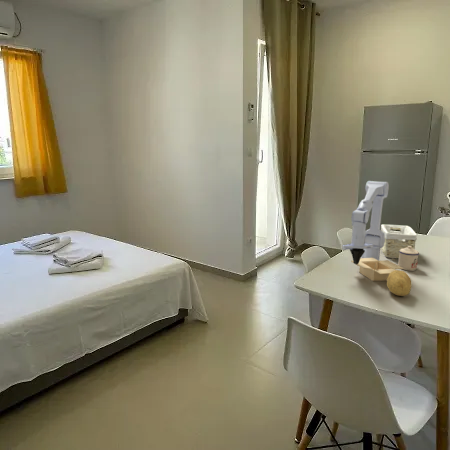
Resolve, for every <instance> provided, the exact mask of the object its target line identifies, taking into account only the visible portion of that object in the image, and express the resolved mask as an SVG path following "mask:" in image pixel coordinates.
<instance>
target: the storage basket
mask: <svg viewBox="0 0 450 450" xmlns="http://www.w3.org/2000/svg"><path fill="white" fill-rule="evenodd" d="M380 230H381V231H382V232H384V234H385V243H384V246H383V247H382V248H381V250H382V253H383V255H384V256H385V258H389V259H391V258H392V259H399V253H400V252H399V251H400V249H404V248H408V246H412V248H413V249H414V250H416V247H415V246H416V242H417V240H418V236H417V233H416V231H415V230H414V229H413V228H412V227H411V226H409V225H399V224H380ZM391 230H397V231H398V230H399V231H400V232H392V231H391Z"/></svg>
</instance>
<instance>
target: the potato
mask: <svg viewBox="0 0 450 450" xmlns="http://www.w3.org/2000/svg"><path fill="white" fill-rule="evenodd" d="M412 285H413V283H412V279H411V277H410V276H409V274H408V273H407V272H405V270H401V269H395V271H392V272H391V273H390V274H389V276H388V278H387V280H386V286H387V288H388V291H389V292H390V293H392V294H394V295H396V296H399V297H405V296H408V295H409V294H410V293H411V289H412Z"/></svg>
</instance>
